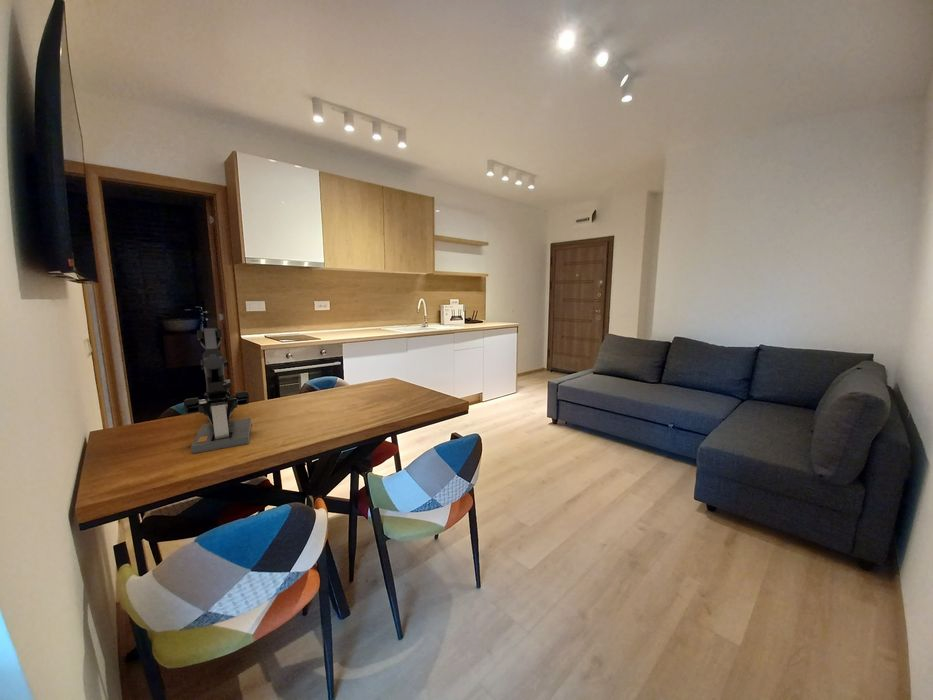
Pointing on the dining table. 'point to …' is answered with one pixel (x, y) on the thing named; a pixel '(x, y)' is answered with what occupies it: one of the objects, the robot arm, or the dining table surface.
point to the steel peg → (220, 420)
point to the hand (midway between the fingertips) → (220, 422)
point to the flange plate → (237, 436)
